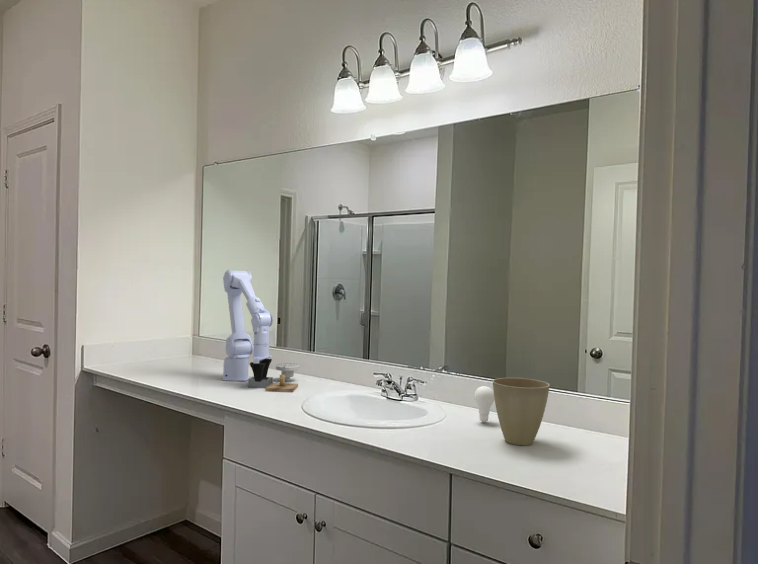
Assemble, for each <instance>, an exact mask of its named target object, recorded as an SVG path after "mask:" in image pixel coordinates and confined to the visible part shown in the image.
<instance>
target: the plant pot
mask: <svg viewBox="0 0 758 564" xmlns="http://www.w3.org/2000/svg"><path fill="white" fill-rule="evenodd" d="M492 388H493V389H492V390H493V392H494V404H495V410H496V413H497V414H496V415H497V418H498V422H499V426H500V430H501V432H502V435H503V438H504V441H505V442H506V443H509V444H511V445H515V446H516V445H517V446H530V445H533V443H534V441H535V439H536V437H537V435H538V432H539V430H540V427H541V425H542V420H543V418H544V414H545V412H546V406H547V403H548V399H549V398H548V397H549V392H550V383H548V382H546V381H544V380H543V381H542V380H538V379H532V378H524V377H499V378H495V379H493V380H492Z"/></svg>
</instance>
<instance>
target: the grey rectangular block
mask: <svg viewBox="0 0 758 564" xmlns="http://www.w3.org/2000/svg"><path fill="white" fill-rule="evenodd" d="M273 380H274V377H273V376H267V377H262V380H261V382H255V379H254V375H252V376H251V378H249V379H248V380H247V388H248V389H250V388H253V389H266V387H267V386H269V385H270V384H271V383H274V381H273Z"/></svg>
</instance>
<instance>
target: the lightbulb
mask: <svg viewBox="0 0 758 564" xmlns="http://www.w3.org/2000/svg"><path fill="white" fill-rule="evenodd" d="M473 396H474V401H475V403H476V405H477V407H478V413H479V421H480V422H481V423H483V424H485V423H486V422H488V421H489V414H490V411H491V407H492V405H493V403H495V399H494V390H493V389H492V388H491V387H489V386H485V385H481V386H480V387H479V386H478V387H477V388H476V390H475V392H474V395H473Z"/></svg>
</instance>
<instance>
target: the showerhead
mask: <svg viewBox="0 0 758 564" xmlns="http://www.w3.org/2000/svg"><path fill="white" fill-rule="evenodd" d="M275 370H276V371H281V373H280V375H285V383H287V382H288V383H289V382H291V378H292V377H294V376H295V375H294V374H295V373H294V372H295V371H299V370H300V364H297V363H294V362H293V363H292V362H289V363H288V362H281V363H278V364H276V365H275Z"/></svg>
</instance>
